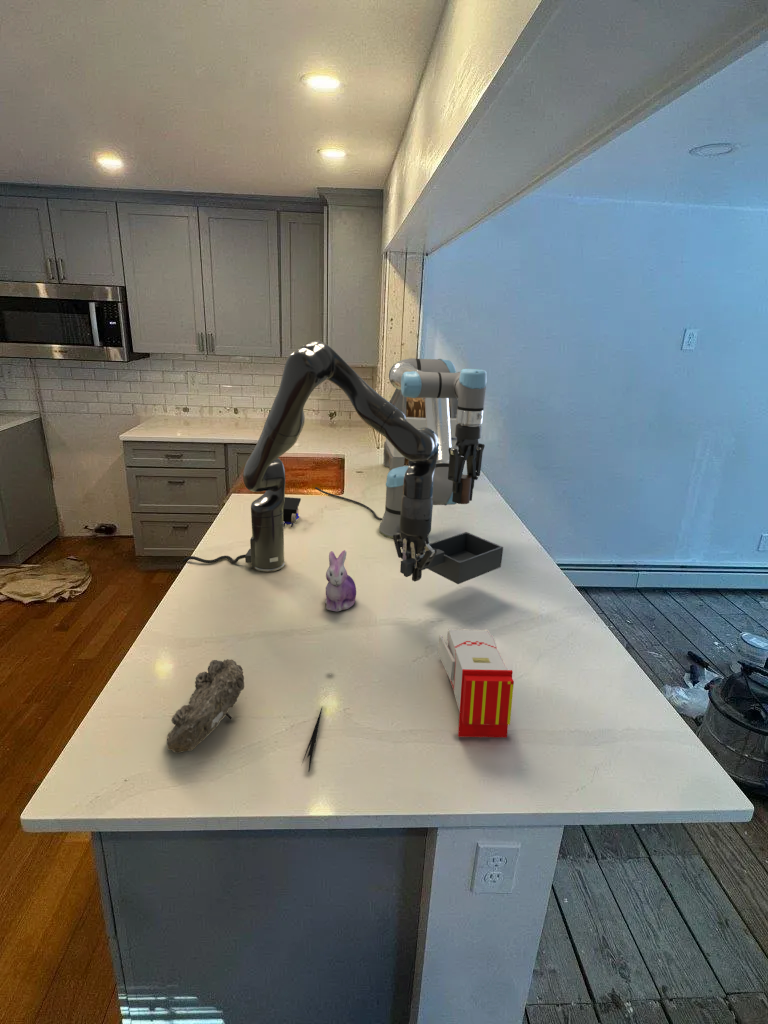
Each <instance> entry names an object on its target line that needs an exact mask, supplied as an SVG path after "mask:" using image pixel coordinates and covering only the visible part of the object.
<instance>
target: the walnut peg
mask: <svg viewBox="0 0 768 1024" xmlns="http://www.w3.org/2000/svg"><path fill="white" fill-rule="evenodd" d="M471 480H472V477H471V476H469V475H467V474H463V475H462V477H461V481H460V482H462V493H461V504H460V505H467V504H470V502H471V501H470V491H471Z"/></svg>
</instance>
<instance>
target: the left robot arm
mask: <svg viewBox="0 0 768 1024" xmlns="http://www.w3.org/2000/svg"><path fill="white" fill-rule="evenodd" d="M325 381H329V382H331V383H333V384H334V385H335V386H336V387H338V388H339V389H340V390H341V391H342V392H343V393H344V394H345V396H347V398H348V400H349V402H350V403H351V406H352V407H353V408H354V412H356V414H357V415H358V416H359V418H360V419H361V420H362V421H363V422H364V423H365V424H366V425H368V426H369V427H371V429H373V430H374V431H375V432H377V433H379V434H380V435H381V436H383V437H384V438H387V439H388V441H389V442H390V443H391V444H392V445H393V446H394V447H395V449H396V450H397V451H398V452H399V453H400V454H401V455H403V456H404V457H405V458H406V459H408V460H409V464H408V469H407V471H406V473H405V476H404V483H403V497H402V502H401V515H400V531H401V533H399V534H395V535H393V539H392V540H393V543H394V546H395V550H396V554H397V557H398V558H399V559H402V560H401V561H403V560H406V559H409V558H412V559H413V573H412V574H410V575H408V576H406V575H404V574H403V577H405V578H409V577H411V580H412V582H418V581H420V580H421V579H422V573H423V570H422V568H424V567H427V566H429V565H430V563H431V561H432V559H433V558H434V556H435V554H436V553H437V550H436V549H435V548H434V549H432V548H431V547H430V545H429V544H430V540H429V535H430V533H431V531H432V522H433V521H432V519H433V511H434V510H433V509H434V505H433V499H432V495H433V478H434V471H435V467H436V462H437V457H438V450H439V441H438V437H437V435H436V433H435V432H434V431H433V430H431V429H429V428H419V429H416V428H415V427H413V426H412V425H411V424H410V423H409V422H408V421H407V420H406V416H405V414H404V413H403V412H402V411H400V410H399V409H398V408H396V407H395V406H394V405H392V404H391V403H390V402H389V401H388V400H387V399H386V398H384V397H383V396H382V395H380V394H379V393H378V392H377V391H376V390H375V389H374V388H372V387H371V386H370V385H369V384H368V383H367V382H366V381H365V380H364V379H362V377H361V376H360V375H359V374H358V373H357V372H356V371H355V370H354V369H353V367H351V366H350V365H349V364H348V362H346V361H345V360H344V359H343V357H341V356H340V354H338V353H337V352H336V351H335V350H334V349H333V348H332V347H331V346H330V345H329V344H327V343H326V342H324V341H321V340H318V339H317V340H315V339H314V340H310V341H309V342H307V343H305V344H304V345H302V346H300V347H299V348H297V349H295V350H294V351H292V352H291V353H290V354H289V356H288V357H287V359H286V361H285V365H284V368H283V372H282V376H281V379H280V383H279V384H280V385H279V389H278V390H277V393H276V395H275V398H274V400H273V403H272V405H271V408H270V410H269V412H268V415H267V417H266V419H265V422H264V425H263V428H262V431H261V433H260V435H259V438H258V440H257V442H256V445H255V446H254V448H253V450H252V452H251V453H250V455H249V457H248V458H247V460H246V462H245V464H244V467H243V471H242V472H243V473H242V479H243V484H244V486H245V488H246V489H247V490H248V491H250V492H253V493H262V492H263V494H262V495H260V496H259V497H258V498H256V499H255V500H253V501H252V502H251V504H250V515H251V516H250V517H251V518H250V519H251V521H250V522H251V537H250V539H249V544H250V545H249V546H250V548H249V549H248V550H247V551H246V553H245V554H241V555H238V556H236V557H235V558H232V557H231V556H229V555H221V556H219V557H217V558H214V559H204V558H201V557H198V556H194V555H190V556H189V555H188V556H186V557H185V558H184V559H182V562H183V563H185V562H188V561H189V560H193V561H197V562H199V563H203V564H214V563H217V562H220V561H222V560H228V561H229V562H230V563H231V564H237V563H238V561H240V560H241V559H245V560H244V562H245V564H250V567H251V569H252V570H256V571H259V572H263V573H269V572H271V573H272V572H277V571H279V570H281V569H283V568H284V567H285V543H284V542H285V538H284V537H285V536H284V533H285V532H284V531H285V530H284V528H285V527H283V523H284V522H283V506H284V502H285V497H286V470H285V465H284V463H283V461H282V460H281V459H280V457H281V456H283V455H285V454H286V452H288V451H289V450H291V448H292V447H294V445H295V444H296V443H297V441H298V439H299V438H300V436H301V433H302V431H303V428H304V426H305V422H306V421H305V420H306V418H305V417H306V416H305V411H304V407H305V405H306V403H307V401H308V399H309V397H310V396H311V395H312V393H313V391H314V390H315V389H316V388H317V387H318V386H320V385H321V384H323V383H324V382H325ZM418 559H419V562H418Z"/></svg>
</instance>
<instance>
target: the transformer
mask: <svg viewBox="0 0 768 1024" xmlns="http://www.w3.org/2000/svg"><path fill="white" fill-rule="evenodd" d="M448 400H449V415H450V430H451V446H452V448H453V447H454V446H455V445H456V442H457V438H456V436H455V429H456V425H457V424H458V423H457V422H456V416H457V406H458V399H453V398H449V399H448ZM388 402H390V403H391V404H392V405H394V406H395V407H396V408H398V409H399V410H400V411H402V412H403V413H404V414H405V416H406V420H407V421H408V422H409V423H410V424H411V425H412V426H413V427H415V428H416V429H419V428H426V413H425V401H424V400H423V399H421V398H411V397H404V396H403V395H402V392H401V390H399V389H397V388H395V390H394V392H393V394H392V395H391V398H390V400H389V401H388ZM408 464H409V460H408V459H406V458H405V457H404V456H403V455H401V454H400V453H399V452H398V451H397V450H396V449H395V447H394V446H393V445H392V444H391V443H390V442H389V441H388V439H387V438H386V437H384V442H383V466H384V467H388V468H389V471H391V470H392V469H394V468H397V467H402V466H408Z"/></svg>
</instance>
